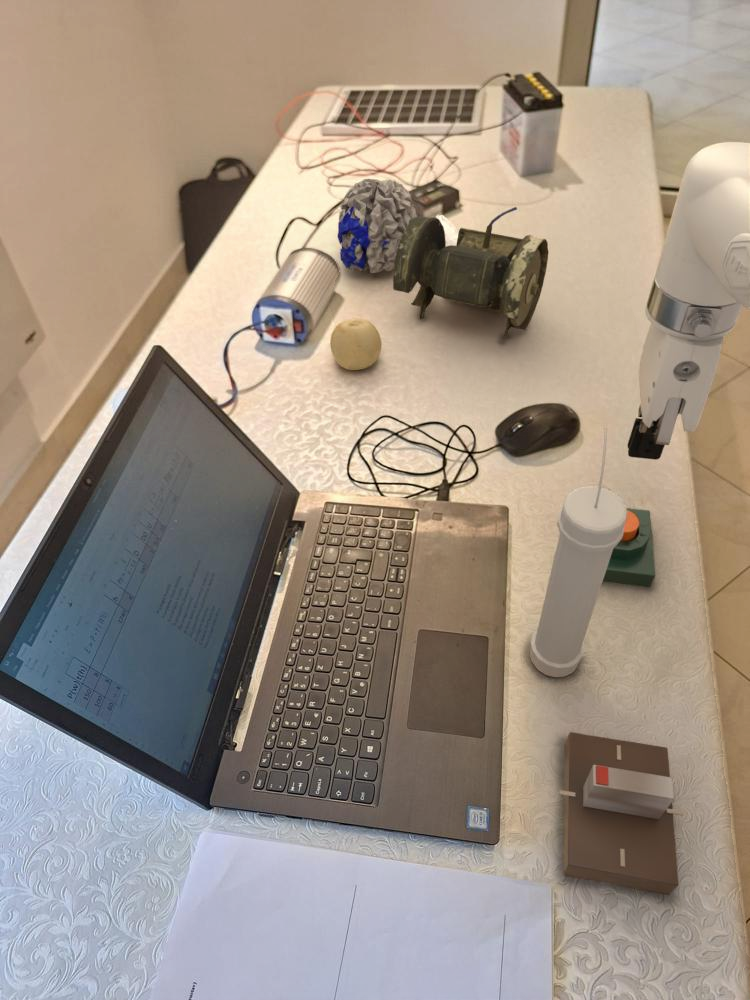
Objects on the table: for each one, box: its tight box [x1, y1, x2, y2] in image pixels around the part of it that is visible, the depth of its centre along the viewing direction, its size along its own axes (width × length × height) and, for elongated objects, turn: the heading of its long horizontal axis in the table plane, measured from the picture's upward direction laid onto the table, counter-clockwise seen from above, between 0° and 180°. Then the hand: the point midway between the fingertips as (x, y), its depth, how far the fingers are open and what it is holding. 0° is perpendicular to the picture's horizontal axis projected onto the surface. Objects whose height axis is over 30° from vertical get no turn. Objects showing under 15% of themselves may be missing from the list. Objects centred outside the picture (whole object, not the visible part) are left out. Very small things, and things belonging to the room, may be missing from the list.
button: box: [620, 510, 639, 542], centre depth 84 cm, size 4×4×2 cm
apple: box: [329, 318, 382, 371], centre depth 112 cm, size 8×8×8 cm
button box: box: [603, 507, 656, 588], centre depth 86 cm, size 10×8×4 cm
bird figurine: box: [435, 213, 459, 246], centre depth 134 cm, size 5×7×10 cm
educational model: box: [336, 178, 418, 274], centre depth 132 cm, size 14×20×15 cm
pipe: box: [529, 427, 627, 678], centre depth 67 cm, size 6×6×30 cm
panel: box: [558, 731, 685, 896], centre depth 66 cm, size 12×11×3 cm
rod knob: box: [583, 765, 675, 819], centre depth 63 cm, size 6×2×5 cm, turn 79°
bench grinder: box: [392, 206, 549, 339], centre depth 116 cm, size 20×22×20 cm
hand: (643, 452), depth 76 cm, fingers closed
